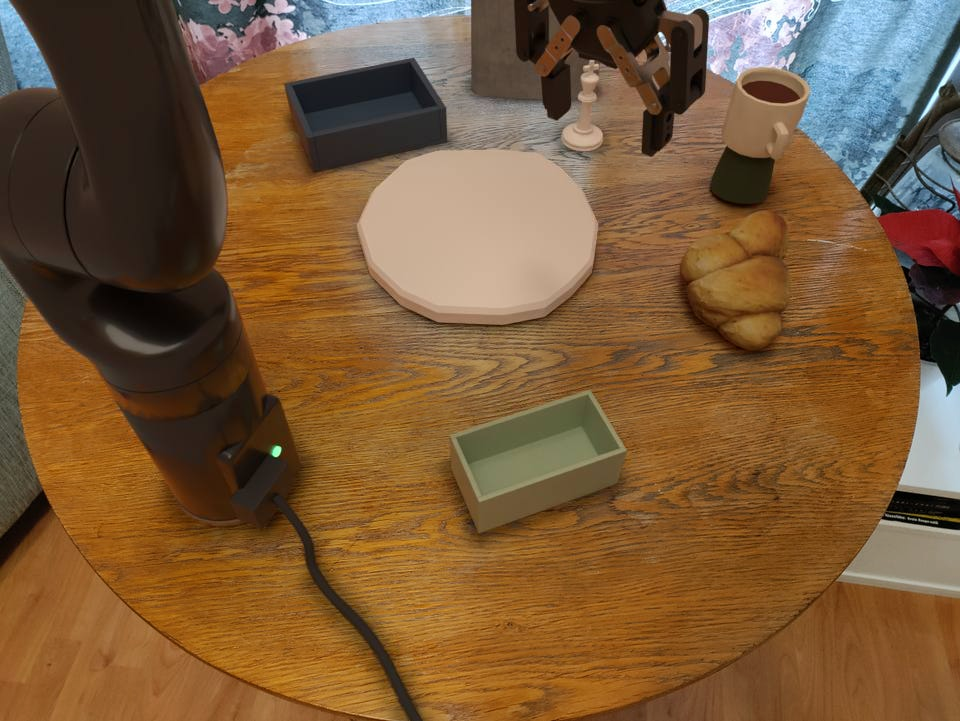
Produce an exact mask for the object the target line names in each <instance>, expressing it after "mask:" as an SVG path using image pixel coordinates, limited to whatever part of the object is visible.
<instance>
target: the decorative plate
mask: <svg viewBox="0 0 960 721" xmlns="http://www.w3.org/2000/svg"><path fill="white" fill-rule="evenodd" d="M599 226H600V225H599V222H598V220H597V217H596V216H595V213H594V211H593V208H592V207H591V204H590V202H589V200H588V198H587V195H586V194H585V192H584V191H583V189H581V187H580V186H579V185H578V184H577V183H576V182H575V181H574V180H573V179H572V177H571V176H569V174H567V172H565V170H564V169H563V168H562V167H560V166H559V165H557V164H555V162H553V161H551V160H550V159H548V158H547V157H545V156H543V155H542V154H540V153H539V152H529V151H519V150H517V151H516V150H508V149H496V148H495V149H456V150H455V149H454V150H453V149H449V150H448V149H447V150H435V151H432V152H431V151H430V152H427V153H425V154H421V155H419V156H416V157H415V156H414V157H412V158H409V159H406V160H405V161H403V162H402V164H400V166H398V167H397V168H396V169H395V170H393V172H391V173H390V174H389V175H388V176H387V177H385V179H384V180H383V181H382V182H381V183H379V184H378V185H377V186H376V187H374V189H373V190H372V191H371V193H370V195H369V197H368V200H367V201H366V203H365V206H364V208H363V210H362V212H361V215H360V217H359V219H358V221H357V223H356V226H355V227H356V232H357V237H358V240H359V243H360V247H361V250H362V252H363V257H364V259H365V262H366V265H367V269H368V272H369V275H370V277H372V278H373V279H374V280H375V281H376V282H377V283H378V284H379V285H380V286H381V287H382V288H383V289H384V290H385V291H386V293H388V294H389V295H390V296H391V297H392V298H393V299H394V300H396V302H397V303H398V304H399V305H400V306H402V307H404V308H406V309H408V310H409V311H412V312H415V313H417V314H419V315H421V316H424V317H426V318H428V319H430V320H432V321H434V322H436V323H445V324H449V323H450V324H471V325H474V324H475V325H496V326H497V325H500V326H505V325H509V324H515V323H519V322H525V321H530V320H535V319H540V318H545V317H546V316H548V315H549V314H550V313H551V312H553V311H555V309H556V308H558V307H559V306H561V305H562V304H563V303H565V302H566V301H567V300H569V299H570V298H571V297H572V296H573V295H574V294H575V293H576V292H577V291H578V289H580V287H581V286H582V285H583V284H584V283H585V282H586V280H588V278H589V277H590V276H591V275H592V274H593V269H594V268H593V267H594V262H595V253H596V247H597V239H598V232H599Z"/></svg>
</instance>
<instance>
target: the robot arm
mask: <svg viewBox="0 0 960 721" xmlns="http://www.w3.org/2000/svg"><path fill="white" fill-rule="evenodd" d="M8 2H9V3H10V5H11V6H12V7H13V9H14V10H15V12H16V13H17V15H18V16H19V17H20V19H21V20H22V23H23V24H24V26H25V27H26V29H27V31H28V33H29V34H30V36H31V38H32V40H33V41H34V43H35V45H36V46H37V49H38V50H39V53H40V55H41V56H42V58H43V60H44V63H45V65H46V67H47V69H48V71H49V73H50V76H51V78H52V80H53V83H54V85H55V87H51V86H50V87H46V86H32V87H31V86H30V87H25V88H20V89H17V90H15V91H12V92H8V93H6V94H4V95H3V96H1V97H0V261H1V263H2V264H3V265H4V267H5V269H6V270H7V271H8V273H9V274H10V275H11V277H12V278H13V280H14V281H15V282H16V283H17V285H18V286H19V288H20V289H21V291H22V292H23V294H25V296H26V297H27V298H28V300H29V301H30V302H31V304H32V305H33V307H34V308H35V309H36V310H37V311H38V313H39V314H40V316H41V317H42V318H43V320H44V322H46V324H47V325H48V326H49V328H50V329H51V330H52V332H54V334H55V335H56V336H57V337H58V338H59V339H60V340H61V341H62V342H63V343H64V344H66V345H67V346H68V347H70V348H71V349H72V350H74V351H75V352H77V353H78V354H80V355H81V356H82V357H83V358H86V359H87V360H88V361H89V362H90V363H91V365H92V366H93V368H94V369H95V371H96V372H97V373H98V376H99V377H100V378H101V380H102V382H103V383H104V385H105V386H106V388H107V390H108V391H109V393H110V395H111V396H112V398H113V400H114V401H115V403H116V405H117V406H118V408H119V409H120V411H121V413H122V415H123V416H124V418H125V419H126V420H127V422H128V424H129V425H130V427H131V429H132V431H133V432H134V433H135V435H136V437H137V438H138V440H139V441H140V443H141V445H142V446H143V448H144V450H145V451H146V452H147V455H148V457H150V459H151V461H152V462H153V464H154V466H155V467H156V469H157V471H158V472H159V474H160V476H161V477H162V478H163V480H164V482H165V483H166V484H167V486H168V488H169V489H170V490H171V492H172V496H173V498H174V499H175V501H176V503H177V505H178V507H179V508H180V510H182V511H183V513H184V514H185V515H186V516H187V517H189V518H190V519H192V520H193V521H195V522H197V523H200V524H202V525H205V526H209V527H217V528H218V527H219V528H224V527H225V528H227V527H228V528H229V527H235V526H240V525H243V524H247V525H249V526H251V527H253V528H255V529H258V530H260V531H264V529H266V527H267V525H269V524H268V523H269V522H270V521H271V520H272V518H273V516H274V515H275V513H276V512H277V511H278V510H279V511H280V512H281V513H282V515H283V516H284V517H285V519H286V520H287V521H288V522H289V523H290V524H291V526H292V527H293V529H294V530H295V532H296V533H297V535H298V537H299V539H300V540H301V543H302V546H303V551H304V552H303V553H304V560H305V565H306V568H307V570H308V572H309V574H310V575H311V577H312V580H313V581H314V582H315V584H316V585H317V588H318V589H319V590H320V592H321V593H322V594H323V595H324V596H325V597H326V600H328V602H329V603H331V605H332V606H334V607H335V608H336V610H337V611H338V612H339V613H340V614H342V616H344V618H346V619H347V620H348V621H349V622H350V624H352V625H353V626H354V627H355V629H356V630H357V631H358V632H359V634H360V635H361V636H362V637H363V638H364V639H365V641H366V642H367V644H368V645H369V646H370V648H371V650H372V651H373V652H374V654H375V656H376V657H377V659H378V661H379V663H380V664H381V666H382V668H383V670H384V672H385V674H386V676H387V678H388V680H389V682H390V684H391V686H392V688H393V690H394V692H395V695H396V696H397V698H398V700H399V702H400V704H401V707H402V709H403V711H404V712H405V714H406V716H407V718H408V720H409V721H424V720H423V718H422V717H421V715H420V713H419V711H418V710H417V708H416V705H415V704H414V702H413V700H412V697H411V696H410V694H409V692H408V690H407V688H406V686H405V684H404V683H403V682H404V681H403V680H402V678H401V676H400V674H399V672H398V670H397V668H396V667H395V664H394V662H393V661H392V659H391V657H390V655H389V654H388V652H387V650H386V649H385V647H384V645H383V644H382V642H381V640H380V639H379V638H378V637H377V635H376V633H375V632H374V631H373V630H372V628H371V627H370V626H369V625H368V624H367V622H366V621H365V620H364V619H363V618H362V617H361V615H359V613H357V612H356V610H354V609H353V608H352V607H351V605H349V604H348V603H347V602H346V601H344V599H343V598H341V596H339V594H338V593H337V592H336V591H335V590H334V589H333V587H332V586H331V585H330V583H329V582H328V581H327V580H326V578H325V576H324V575H323V573H322V572H321V570H320V568H319V565H318V563H317V560H316V552H315V550H316V549H315V545H314V541H313V539H312V536H311V535H310V534H311V533H310V532H309V530H308V529H307V527H306V526H305V524H304V522H303V521H302V519H301V518H300V517H299V515H298V514H297V513H296V512H295V511H294V510H293V508H292V507H291V506H290V505H289V504H288V502H287V501H286V500H285V499H286V498H287V496H288V495H289V494H290V492H291V491H292V489H293V488H294V487H295V485H296V480H295V478H296V477H297V475H298V473H299V472H300V471H301V469H302V468H303V463H302V460H301V457H300V454H299V451H298V448H297V445H296V442H295V440H294V437H293V434H292V431H291V427H290V424H289V420H288V419H287V415H286V413H285V412H286V411H285V410H284V406H283V404H282V401H281V399H280V397H279V396H277V395H274V394H272V393H270V392H268V389H267V387H266V383H265V381H264V377H263V375H262V372H261V369H260V366H259V364H258V361H257V358H256V356H255V352H254V349H253V346H252V345H251V340H250V338H249V335H248V332H247V329H246V326H245V324H244V322H243V318H242V315H241V311H240V309H239V306H238V303H237V299H236V297H235V295H234V293H233V292H234V291H232V289H231V287H230V284H229V283H228V281H227V280H226V279H225V277H224V276H223V275H222V274H221V273H220V272H219V271H218V270H217V269H216V268H214V267H215V265H216V263H217V262H218V260H219V257H220V255H221V252H222V250H223V246H224V242H225V238H226V233H227V225H228V216H229V202H228V200H229V198H228V197H229V196H228V186H227V179H226V173H225V167H224V163H223V158H222V154H221V149H220V146H219V142H218V138H217V136H216V132H215V129H214V126H213V123H212V122H213V121H212V120H211V117H210V113H209V109H208V107H207V104H206V101H205V98H204V95H203V92H202V89H201V85H200V83H199V82H200V81H199V80H198V77H197V74H196V71H195V68H194V65H193V62H192V59H191V56H190V53H189V49H188V46H187V44H186V43H187V42H186V40H185V37H184V33H183V30H182V28H181V25H180V22H179V19H178V15H177V12H176V9H175V7H174V3H173V0H8ZM549 5H550V7H551V9H552V11H553V13H554V15H555V17H556V19H557V20H558V22H559V24H560V29H559V30H558V32H557V33H556V34H555V36H554V37H553V38H552V40H551V41H550V42H549ZM514 12H515V35H516V53H517V56H518V58H519V59H520V60H521V61H523V62H526V61H528V60H530V61H531V62H532V63H534V64H535V65H536V69H537V71H538V73H539V74H540V75H541V85H542V100H541V101H542V104H543V107H544V109H545V110H546V116H547V118H548V119H551V120H553V121H559V120H560V119H561V118H563V117H564V116H565V115H566V114H567V113H569V112H570V110H571V108H572V99H571V76H570V65H568V64H565V61H566V60H567V59H568V58H569V57H570V56H571V54H572V53H573V52H574V50H575V51H576V52H578V53H579V57H580V58H583V59H586V60H597V61H599V62H600V64H602V65H603V66H605V67H608V68H611V69H614V70H617V69H618V71H619V72H620V74H621V76H622V77H623V80H624V82H625V84H626V85H627V86H628V87H629V88H634V89H635V90H636V92H637V94H638V96H639V97H640V99H641V101H642V103H643V104H644V106H645V108H646V109H645V110H643V112H642V127H641V128H642V130H641V131H642V132H641V151H640V152H641V154H642V155H645V156H647V157H650V158H653V157H654V156H655V155H656V154H657V153H660V151H662V150H663V149H664V148H665V147H666V146H667V145H668V144H669V143H670V142H671V141H672V139H673V137H674V136H673V135H674V125H675V124H674V123H675V114H676V115H678V116H681V115H683V114H684V113H686V111H687V110H689V109H690V107H691V106H692V105H693V104H694V103H696V102H697V101H698V100H699V99H701V98H702V97H703V96H704V95H705V93H706V84H707V67H708V49H709V48H708V47H709V29H710V16H709V13H708V12H707V11H706V10H705V9H704V8H695V9H694V10H693V11H692V12H690V13H689V14H686V13H681V12H676V11H671V10H668V8H667V6H666V3H665V0H514ZM659 33H661V34H662V35H663V36H664V39H665V45H664V42H663V40H662V38H661V37H660V34H659ZM532 34H533V36H532ZM643 51H644V52H645V54H646V60H645V62H644V63H643V64H641V65H640V64H639V63H638V61H637V59H636V58H637V57H639V55H641V53H642V52H643ZM654 81H655V82H654ZM655 83H656V84H655Z"/></svg>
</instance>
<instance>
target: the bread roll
mask: <svg viewBox="0 0 960 721" xmlns="http://www.w3.org/2000/svg"><path fill="white" fill-rule="evenodd" d="M789 245H790V229H789V226H788V223H787V221H786V220H785V219H784V217H782V215H781V216H780V215H779V214H778V213H777V212H775V211H771V210H768V209H767V210H766V209H761V210H757V211H754V212H752V213H750V214H749V215H747V216H746V217H744V218H743V219H742V220H741V221H740V222H739V223H738V224H737V225H736V226H734V227H733V228H732V229H731V231H730V232H729V233H727V232H716V233H715V234H712V235H711V234H710V235H703V236H701V237H700V238H698V239H697V240H695V241H694V242H693V243H691V244H690V245H689V246H688V247H686V248H687V249H686V250H685V252H684V254H683V256H682V258H681V260H680V263H679V267H678V268H679V277H680V279H681V281H682V282H683V283H684V285H685V286H686V287H685V289H686V296H687V299H688V303H689V305H690V306H691V308H692V310H693V314H694V315H695V316H696V318H698V319H699V320H701V321H702V322H703V323H705V324H707V325H708V326H710V327H713V328H716V330H717V331H718V332H719V333H720V335H721V336H722V337H723V338H724V339H725V340H727V341H728V342H730V343H732V345H735V346H736V347H739V348H741V349H744V350H749V351H760V350H763V349H765V348H767V347H768V346H770V345H771V344H772V343H773V342H774V341H775V340H776V339H777V338H778V336H779V334H780V333H781V331H782V317H781V313H783V312H785V311H786V309H788V306H789V304H790V297H791V292H792V276H791V273H790V269H789V268H788V266H787V264H786V263H785V261H784V259H785V258H786V256H787V253H788V250H789V247H790V246H789Z"/></svg>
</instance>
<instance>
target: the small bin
mask: <svg viewBox="0 0 960 721" xmlns="http://www.w3.org/2000/svg"><path fill="white" fill-rule="evenodd" d="M449 449H450V450H449V453H450V455H449V456H450V457H449V458H450V470H451V472H452V475H453V477H454V480H455V482H456V485H457V487H458V489H459V491H460V493H461V496H462V498H463V500H464V503H465V505H466V508H467V510H468V512H469V515H470V516H471V520H472V522H473V525H474V526H475V529H476V531H477V534H482V533H484V532H487V531H490V530H493V529H496V528H499V527H501V526H504V525H507V524H509V523H512V522H515V521H519V520H521V519H524V518H526V517H530V516H532V515H535V514H537V513H541V512H542V511H546V510H548V509H551V508H554V507H557V506H560V505H562V504H565V503H568V502H571V501H574V500H576V499H579V498H582V497H585V496H588V495H591V494H593V493H596V492H599V491H601V490H604V489H607V488H610V487H613V486H615V485H618V483H619V480H620V477H621V473H622V469H623V466H624V462H625V459H626V456H627V451H628V449H627V448H626V447H625V445H624V443H623V441H622V439H621V438H620V437H619V435H618V433H617V431H616V430H615V428H614V427H613V425H612V423H611V422H610V419H609V418H608V417H607V415H606V413H605V412H604V409H602V406H601V405H600V403H599V402H598V400H597V398H596V396H595V394H594V393H593V392H592V390H591V389H586V390H584V391H581V392H578V393H575V394H572V395H568V396H565V397H563V398H559V399H556V400H553V401H550V402H547V403H544V404H541V405H537V406H535V407H531V408H528V409H525V410H522V411H519V412H515V413H513V414H510V415H507V416H504V417H501V418H497V419H494V420H491V421H489V422H484V423H482V424H479V425H476V426H473V427H470V428H467V429H462V430H460V431H456V432H454V433H451V434H449Z"/></svg>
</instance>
